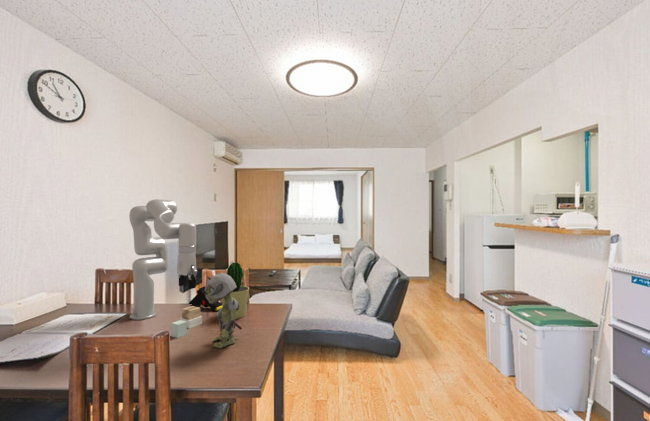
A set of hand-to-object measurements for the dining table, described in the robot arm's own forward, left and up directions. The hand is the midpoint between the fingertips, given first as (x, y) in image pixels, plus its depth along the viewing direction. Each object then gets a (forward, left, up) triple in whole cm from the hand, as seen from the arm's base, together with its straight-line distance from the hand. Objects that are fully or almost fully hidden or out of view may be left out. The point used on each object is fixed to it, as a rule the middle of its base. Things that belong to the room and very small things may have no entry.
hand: (187, 286), depth 141 cm
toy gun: (-24, +32, -22) cm, 46 cm away
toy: (+22, +2, -22) cm, 31 cm away
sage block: (-2, -2, -22) cm, 22 cm away
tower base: (-9, +10, -22) cm, 26 cm away
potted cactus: (0, +31, -22) cm, 38 cm away
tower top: (-9, +10, -18) cm, 23 cm away
